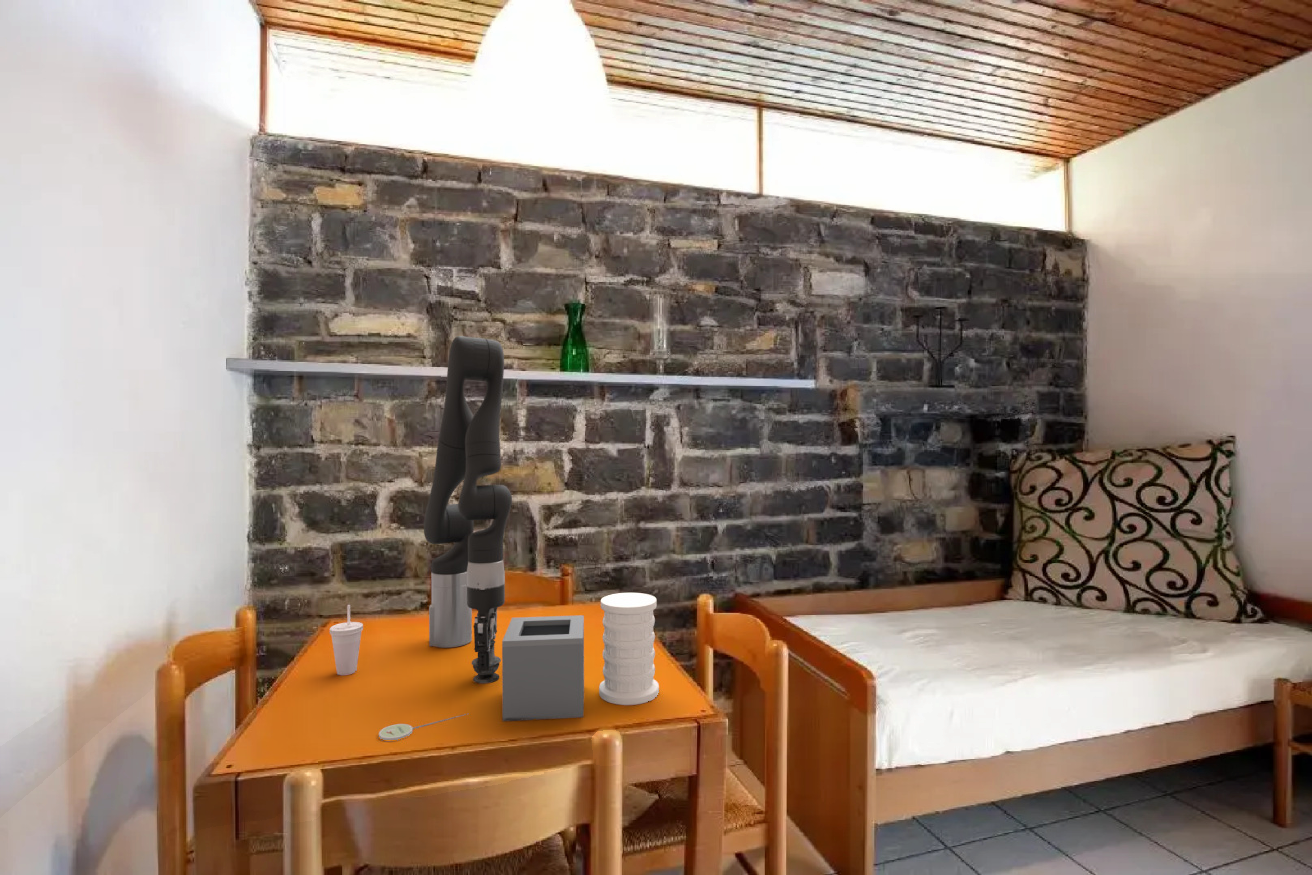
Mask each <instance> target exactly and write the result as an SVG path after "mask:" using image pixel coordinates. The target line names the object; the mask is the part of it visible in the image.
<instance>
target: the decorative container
mask: <svg viewBox="0 0 1312 875" xmlns="http://www.w3.org/2000/svg"><path fill="white" fill-rule="evenodd" d="M657 603H658V602H657V598H656V597H655V596H654V595H652V594H648V593H641V592H619V593H612V594H609V595H605V596H603V597H601V599H600V609H601V610H603V612H604V613H603V614H604V616H603V618H602V625H603V626H602V627H603V628H604V631H603V634H602V642H603V644H604V646H603V647H604V648H603V650H602V658H603V660H604V661H603V662H604V663H603V664H604V665H603V668H602V673H603V674H602V675H603V677H604V680H603V681H601V682H600V683H599V687H598V691H599V692H598V695H599V696H600V698H601V699H602V700H603V701H605V702H607V703H610V704H614V705H619V706H620V705H622V706H634V705H636V706H637V705H641V704H645V703H649V702H650V701H653V700H654V699H656V698H657V697H658V696H657V695H659V694H658V693H659V692H660V691H659V690H660V686H659V685H660V684H659V682H658V681H657V680H655V679H654V676H655V671H656V667H655V664H654V659H655V656H656V651H655V648H654V642H655V640H656V639H655V638H656V635H655V632H654V626H655V622H656V619H655V616H654V610H655V609H656V608H657V605H658V604H657ZM655 697H656V698H655ZM648 701H649V702H648Z"/></svg>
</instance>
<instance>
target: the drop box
mask: <svg viewBox="0 0 1312 875" xmlns="http://www.w3.org/2000/svg"><path fill="white" fill-rule="evenodd" d="M584 617H585V616H584V615H582V614H581V615H579V614H578V615H555V616H554V615H553V616H529V617H528V616H525V617H520V616H519V617H511V619H510V622H509V623H508V627H507V629H506V631H505V634H504V636H503V638H502V642H501V643H502V644H501V646H502V649H501V654H502V657H501V661H502V662H501V663H502V666H501V668H502V669H501V670H502V671H501V672H502V675H501V676H502V679H501V680H502V681H501V682H502V684H501V685H502V688H501V689H502V696H501V697H502V722H514V721H515V722H516V721H533V720H534V719H536V721H537V720H552V719H553V720H555V719H570V718H571V719H572V718H584V705H585V704H584V703H585V701H584V700H585V658H584V657H585V639H584V638H585V628H584V627H585V622H584V621H585V618H584Z"/></svg>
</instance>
